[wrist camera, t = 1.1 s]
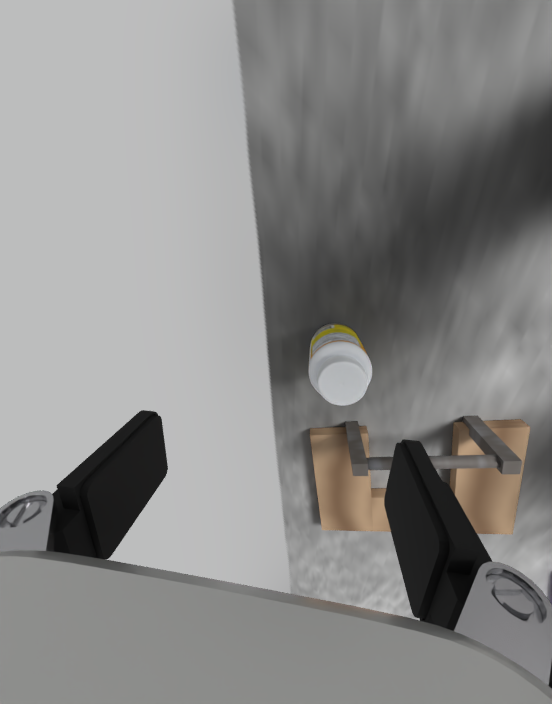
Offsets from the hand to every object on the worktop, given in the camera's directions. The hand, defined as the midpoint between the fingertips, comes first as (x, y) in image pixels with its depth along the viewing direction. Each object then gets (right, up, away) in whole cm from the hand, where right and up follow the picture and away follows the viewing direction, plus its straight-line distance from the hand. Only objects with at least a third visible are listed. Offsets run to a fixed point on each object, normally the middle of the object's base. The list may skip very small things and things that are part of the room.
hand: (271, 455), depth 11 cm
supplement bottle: (+7, +5, +21) cm, 23 cm away
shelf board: (+18, -12, +25) cm, 33 cm away
